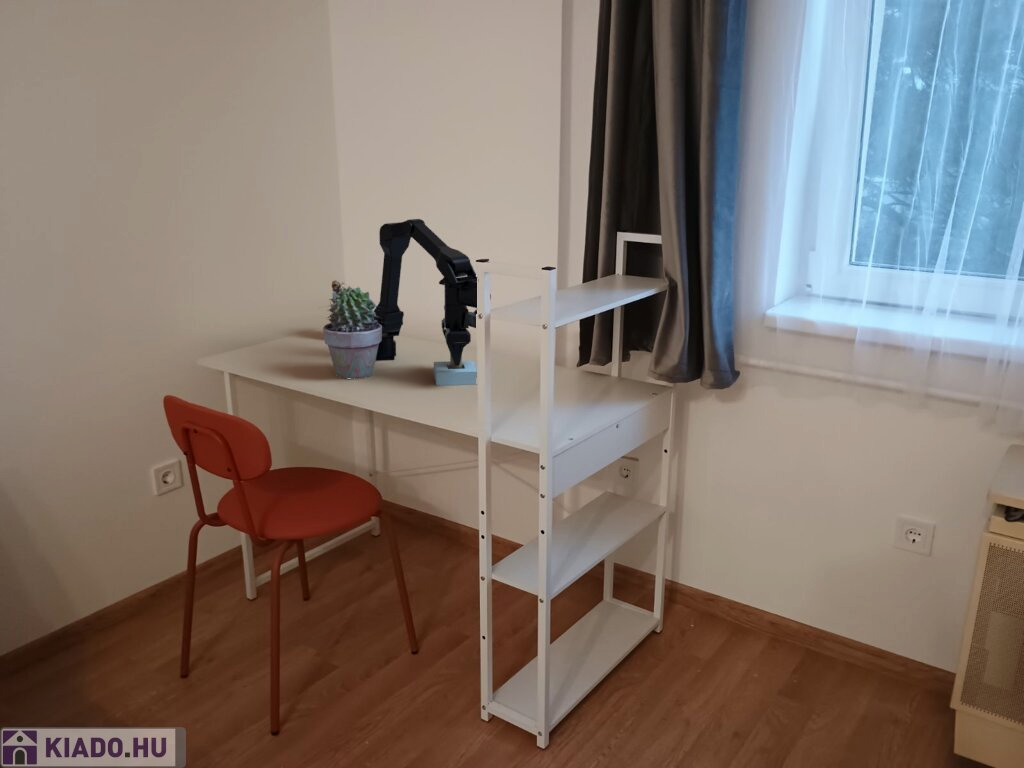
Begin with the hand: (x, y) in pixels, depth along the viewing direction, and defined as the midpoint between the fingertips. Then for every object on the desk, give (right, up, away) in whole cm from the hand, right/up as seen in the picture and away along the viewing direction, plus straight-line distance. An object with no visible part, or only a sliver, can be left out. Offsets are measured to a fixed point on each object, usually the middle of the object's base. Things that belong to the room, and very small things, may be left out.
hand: (455, 361), depth 236 cm
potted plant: (-27, -4, +4) cm, 27 cm away
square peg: (0, -5, +1) cm, 5 cm away
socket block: (0, -5, +1) cm, 5 cm away
